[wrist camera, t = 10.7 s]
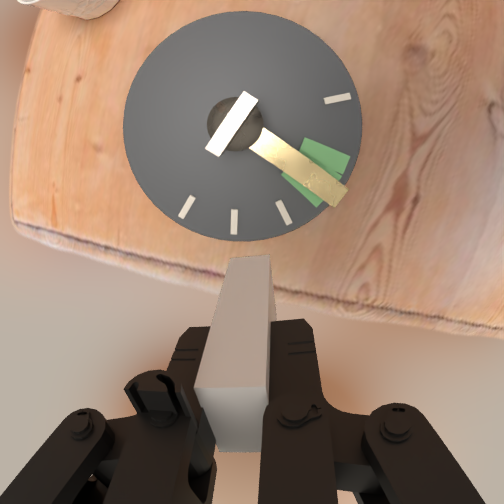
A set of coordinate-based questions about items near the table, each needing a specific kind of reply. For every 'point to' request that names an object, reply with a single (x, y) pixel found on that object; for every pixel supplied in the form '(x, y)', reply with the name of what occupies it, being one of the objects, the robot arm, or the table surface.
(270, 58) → the dial
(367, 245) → the table surface
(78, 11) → the white cup
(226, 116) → the needle
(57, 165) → the table surface
